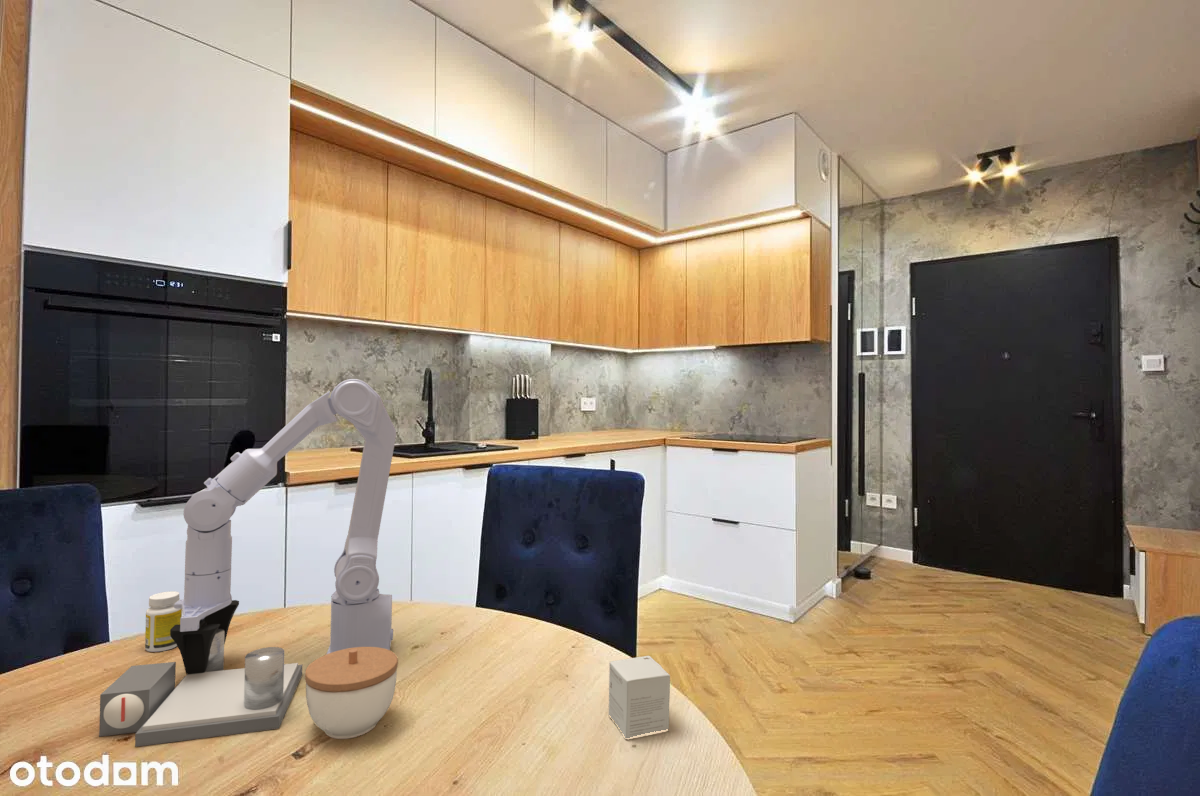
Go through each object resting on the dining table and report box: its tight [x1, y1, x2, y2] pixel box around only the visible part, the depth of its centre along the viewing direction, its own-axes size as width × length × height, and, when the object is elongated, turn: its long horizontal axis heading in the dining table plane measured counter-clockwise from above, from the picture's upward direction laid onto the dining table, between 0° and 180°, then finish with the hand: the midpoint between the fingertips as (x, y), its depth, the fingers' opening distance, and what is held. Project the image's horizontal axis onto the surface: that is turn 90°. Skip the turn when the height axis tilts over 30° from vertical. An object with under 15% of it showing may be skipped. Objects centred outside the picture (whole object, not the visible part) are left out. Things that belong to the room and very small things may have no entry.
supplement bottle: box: [144, 590, 183, 653], centre depth 96 cm, size 5×5×8 cm
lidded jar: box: [304, 647, 399, 740], centre depth 74 cm, size 11×11×9 cm
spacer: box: [205, 628, 225, 672], centre depth 87 cm, size 4×4×6 cm
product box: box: [608, 655, 671, 738], centre depth 75 cm, size 6×6×7 cm
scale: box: [98, 661, 304, 748], centre depth 77 cm, size 20×15×5 cm
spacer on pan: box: [244, 646, 285, 710], centre depth 75 cm, size 4×4×6 cm
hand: (205, 662), depth 86 cm, fingers open, 7 cm apart
